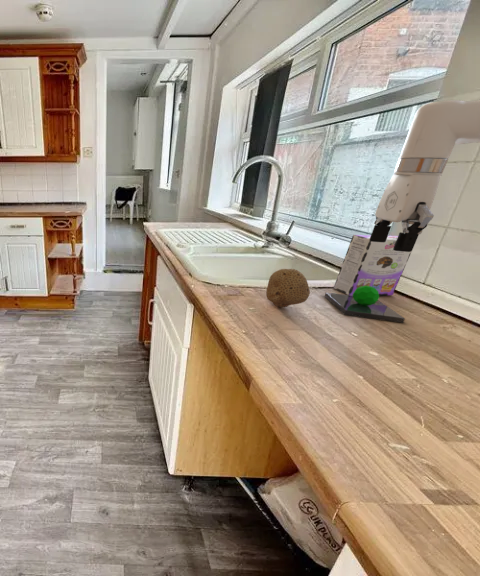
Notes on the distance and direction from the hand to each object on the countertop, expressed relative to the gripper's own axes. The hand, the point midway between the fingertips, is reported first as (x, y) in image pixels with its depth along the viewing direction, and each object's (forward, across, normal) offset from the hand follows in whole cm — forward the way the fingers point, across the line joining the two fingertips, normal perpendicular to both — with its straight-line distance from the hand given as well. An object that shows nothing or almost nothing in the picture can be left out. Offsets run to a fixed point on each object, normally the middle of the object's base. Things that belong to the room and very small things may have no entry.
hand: (388, 246), depth 72 cm
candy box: (+17, -14, +6) cm, 23 cm away
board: (+16, 0, -1) cm, 16 cm away
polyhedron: (+15, 0, -1) cm, 15 cm away
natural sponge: (+16, +7, -21) cm, 27 cm away
